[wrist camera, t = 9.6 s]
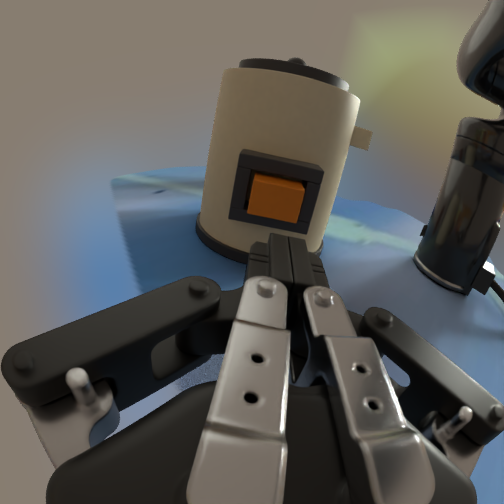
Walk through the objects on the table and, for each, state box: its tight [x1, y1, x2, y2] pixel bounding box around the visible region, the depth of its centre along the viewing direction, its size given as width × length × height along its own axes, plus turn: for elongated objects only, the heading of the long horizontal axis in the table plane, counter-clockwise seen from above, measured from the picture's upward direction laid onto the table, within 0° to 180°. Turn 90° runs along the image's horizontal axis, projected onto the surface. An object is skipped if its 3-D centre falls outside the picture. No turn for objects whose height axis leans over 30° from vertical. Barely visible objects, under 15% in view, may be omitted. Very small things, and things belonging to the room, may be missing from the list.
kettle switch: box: [247, 172, 305, 223], centre depth 20 cm, size 2×3×2 cm
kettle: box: [196, 58, 372, 264], centre depth 27 cm, size 20×15×19 cm
